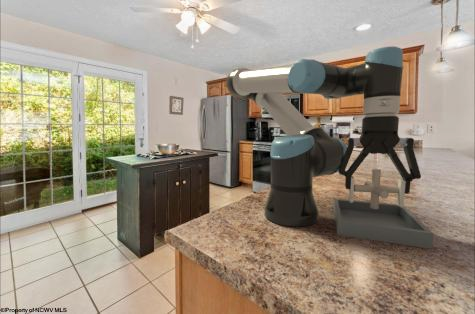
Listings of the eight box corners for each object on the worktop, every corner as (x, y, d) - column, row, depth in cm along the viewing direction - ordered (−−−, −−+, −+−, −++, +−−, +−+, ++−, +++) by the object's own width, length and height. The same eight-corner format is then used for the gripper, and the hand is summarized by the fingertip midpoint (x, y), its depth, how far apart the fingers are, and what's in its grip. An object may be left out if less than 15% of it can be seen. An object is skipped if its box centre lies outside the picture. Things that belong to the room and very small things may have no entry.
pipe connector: (407, 216, 50) (410, 174, 49) (360, 214, 52) (362, 173, 51) (386, 202, 60) (389, 167, 58) (347, 200, 62) (349, 166, 60)
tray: (337, 234, 51) (337, 221, 51) (333, 209, 68) (334, 198, 68) (432, 249, 45) (433, 233, 45) (402, 216, 62) (403, 205, 61)
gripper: (330, 116, 54) (327, 203, 56) (447, 112, 46) (437, 214, 48) (329, 118, 61) (326, 195, 63) (430, 115, 52) (422, 203, 55)
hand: (374, 203), depth 56 cm, fingers closed on pipe connector, 10 cm apart
